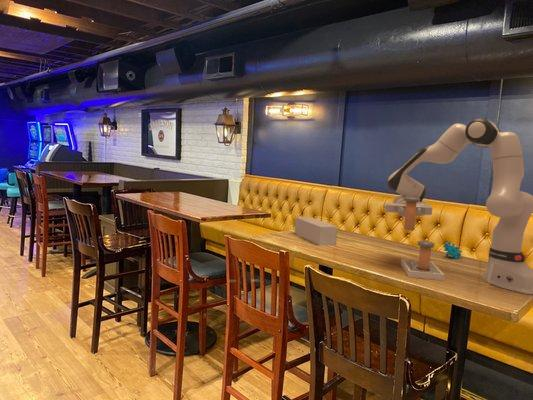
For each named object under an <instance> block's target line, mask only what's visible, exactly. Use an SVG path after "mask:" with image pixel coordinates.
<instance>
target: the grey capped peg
mask: <svg viewBox="0 0 533 400" xmlns="http://www.w3.org/2000/svg"><path fill="white" fill-rule="evenodd" d="M417 246H419V253H418V254H419V255H418V261H419V263H418V269H419V270H423V271H429V264H430V262H431V252H432V248H435V242H433V241H428V240H418V241H417Z"/></svg>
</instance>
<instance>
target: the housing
mask: <svg viewBox="0 0 533 400" xmlns="http://www.w3.org/2000/svg"><path fill="white" fill-rule="evenodd" d="M418 263H419V260H414V259H404V258H403V259H402V258H401V259H400V266H401V268H402V269H403V271H404V272H405V274H406V276H407V277H408V278H413V279H424V280H433V281H445V273H444V272H443V271H441V269H440V268H439V267H438V266H437V265H436V264H435V263H434V262H433V261H430V264H429V271H423V270H419V269H418Z"/></svg>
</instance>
